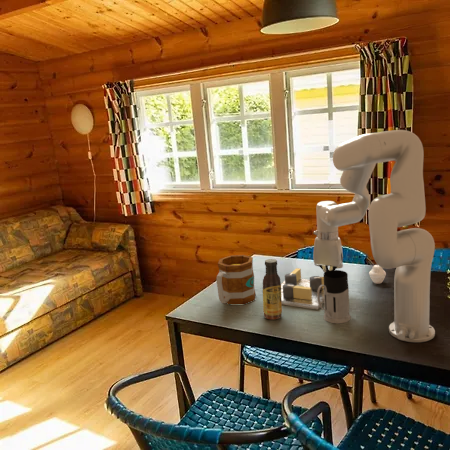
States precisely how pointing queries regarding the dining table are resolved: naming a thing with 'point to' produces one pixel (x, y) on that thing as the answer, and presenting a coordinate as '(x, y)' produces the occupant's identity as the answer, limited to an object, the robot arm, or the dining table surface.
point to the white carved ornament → (377, 274)
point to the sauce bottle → (272, 291)
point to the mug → (236, 279)
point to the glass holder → (335, 296)
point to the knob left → (293, 277)
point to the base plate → (303, 302)
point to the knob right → (316, 282)
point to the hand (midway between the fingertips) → (329, 281)
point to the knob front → (296, 292)
